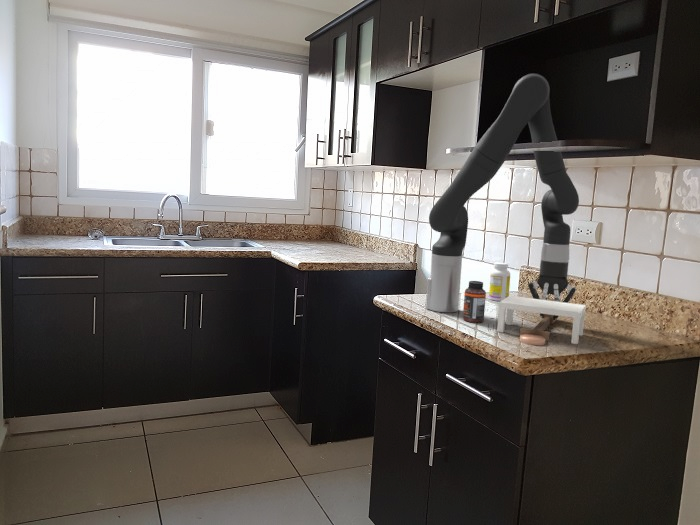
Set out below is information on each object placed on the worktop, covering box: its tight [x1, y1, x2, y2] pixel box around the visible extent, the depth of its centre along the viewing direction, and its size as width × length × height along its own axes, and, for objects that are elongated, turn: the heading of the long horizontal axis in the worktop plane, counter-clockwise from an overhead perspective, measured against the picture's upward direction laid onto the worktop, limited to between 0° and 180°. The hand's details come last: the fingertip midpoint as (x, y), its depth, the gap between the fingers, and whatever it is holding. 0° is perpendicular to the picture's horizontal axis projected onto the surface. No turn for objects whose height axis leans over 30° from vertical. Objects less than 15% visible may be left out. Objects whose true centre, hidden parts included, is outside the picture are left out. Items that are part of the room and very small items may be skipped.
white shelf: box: [496, 295, 586, 345], centre depth 149 cm, size 20×12×8 cm, turn 62°
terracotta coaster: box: [519, 334, 546, 346], centre depth 140 cm, size 6×6×2 cm
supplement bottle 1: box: [462, 280, 487, 324], centre depth 160 cm, size 6×6×11 cm
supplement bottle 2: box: [488, 262, 511, 302], centre depth 196 cm, size 7×7×13 cm
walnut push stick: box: [519, 298, 558, 342], centre depth 155 cm, size 7×29×6 cm, turn 152°
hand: (549, 318), depth 163 cm, fingers closed on walnut push stick, 2 cm apart
